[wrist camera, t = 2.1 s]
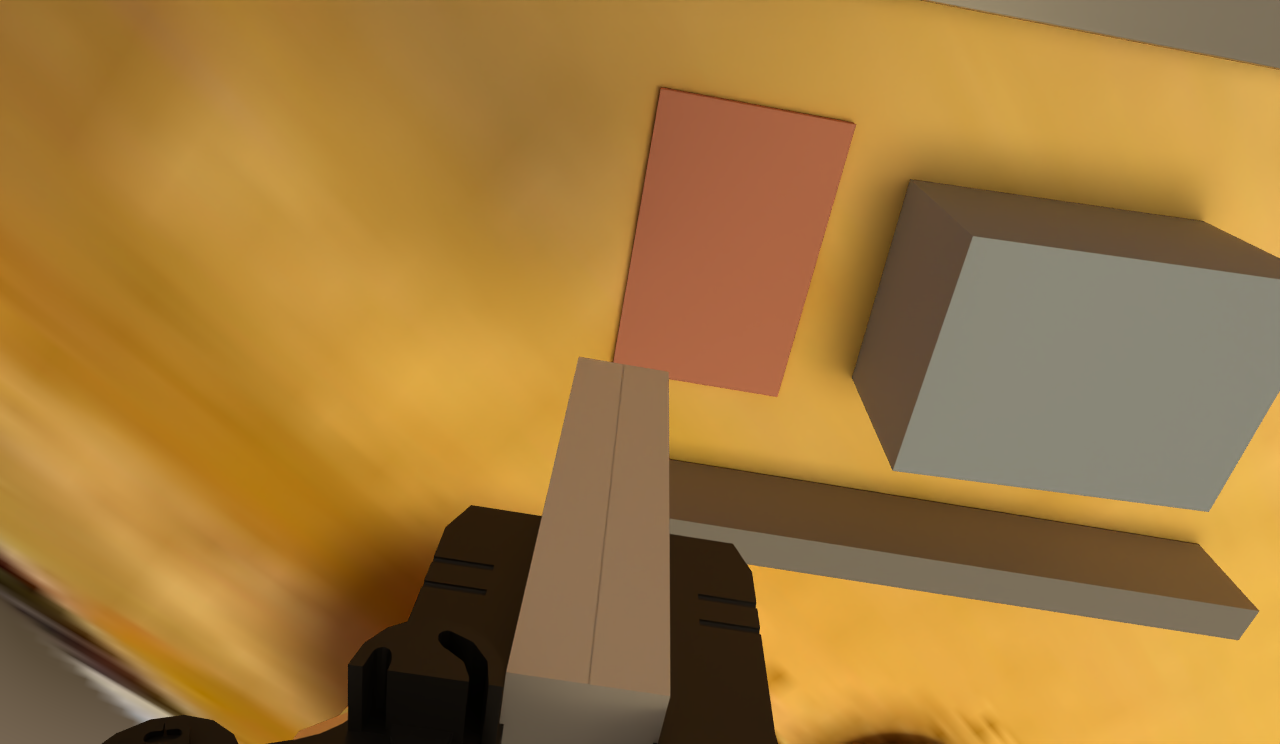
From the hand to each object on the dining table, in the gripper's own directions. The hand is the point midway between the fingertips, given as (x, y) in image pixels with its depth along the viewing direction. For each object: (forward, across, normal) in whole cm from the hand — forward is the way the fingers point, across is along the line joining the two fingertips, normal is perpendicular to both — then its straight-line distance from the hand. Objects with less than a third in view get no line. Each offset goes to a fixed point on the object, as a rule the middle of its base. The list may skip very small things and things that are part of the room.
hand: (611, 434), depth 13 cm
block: (+10, +11, 0) cm, 15 cm away
